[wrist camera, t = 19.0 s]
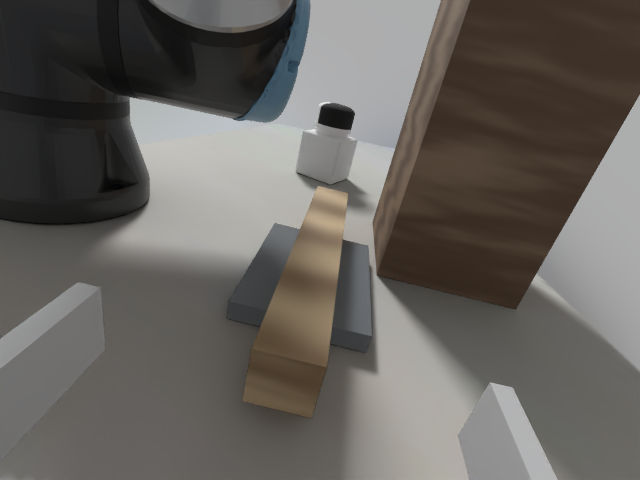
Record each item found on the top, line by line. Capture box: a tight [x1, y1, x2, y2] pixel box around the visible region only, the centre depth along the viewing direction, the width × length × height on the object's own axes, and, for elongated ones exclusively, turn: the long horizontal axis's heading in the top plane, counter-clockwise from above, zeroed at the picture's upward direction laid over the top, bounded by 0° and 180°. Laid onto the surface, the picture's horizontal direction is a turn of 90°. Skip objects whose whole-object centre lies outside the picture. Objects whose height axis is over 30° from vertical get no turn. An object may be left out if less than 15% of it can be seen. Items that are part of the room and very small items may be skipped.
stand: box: [373, 0, 640, 309], centre depth 34 cm, size 14×14×30 cm
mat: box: [227, 223, 372, 353], centre depth 30 cm, size 14×10×2 cm
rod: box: [243, 186, 348, 418], centre depth 28 cm, size 26×4×4 cm, turn 174°
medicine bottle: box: [296, 102, 357, 185], centre depth 59 cm, size 7×7×12 cm
